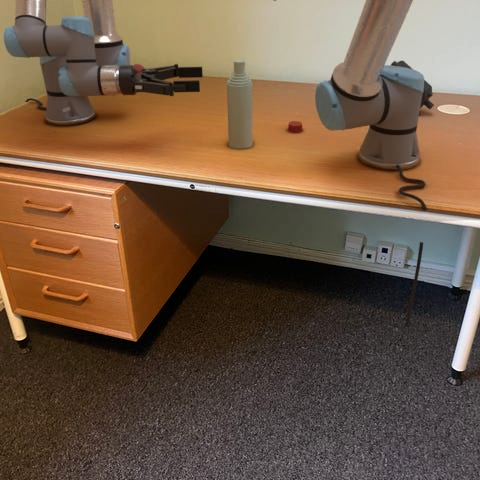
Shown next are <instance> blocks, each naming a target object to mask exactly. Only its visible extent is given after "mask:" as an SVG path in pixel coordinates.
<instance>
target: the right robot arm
mask: <svg viewBox="0 0 480 480" xmlns="http://www.w3.org/2000/svg"><path fill="white" fill-rule="evenodd" d="M273 1H277V0H273ZM413 2H414V0H365V2H364V5H363V7H362V10H361V12H360V15H359V19H358V22H357V24H356V27H355V30H354V32H353V34H352V38H351V40H350V43H349V47H348V48H347V52H346V54H345V57H344V60H343V61H342V62H340V63H339V64H337V65H336V66H335V67H334V68H333V71H332V74H331V77H330V79H329V80H325V79H324V80H323V81H320V82H318V84H317V86H316V88H315V95H314V100H315V101H314V102H315V109H316V112H317V115H318V118H319V121H320V122H321V125H323V127H324V128H325V129H327V130H329V131H332V132H334V131H345V130H352V129H356V128H357V129H358V128H363V127H367V126H368V130H367V132H366V135H364V136H365V137H364V138H363V141H362V143H361V145H360V147H359V151H358V159H359V160H360V162H362V163H363V164H364V165H367V166H369V167H372V168H374V169H378V170H385V171H398V173H399V176H400V178H401V179H402V180H404V181H405V182H410V183H419V184H412V185H411V184H410V185H404V186H401V187H399V189H398V193H399V195H401V196H403V197H408V198H411V199H413V200H415V201H416V202H418V203H419V204H420V205H421V207H422V210H423V211H425V212H426V211H428V207H427V206H426V203H425V202H424V200H423V199H422V198H421V197H419V196H417V195H415V194H412V193H408V192H406V191H405V190H412V189H420V188H424V187H425V186H426V182H425V181H424V180H423V179H418V178H410V177H406V176H405V175H404V172H403V170H408V169H412V168H414V167H416V166H418V164H419V163H420V158H421V153H420V151H421V150H420V146H419V140H418V135H417V130H418V124H419V119H420V117H419V116H420V111H421V109H420V106H421V101H422V95H423V93H424V90H423V88H424V80H425V77H424V74H423V73H421V72H420V71H418V70H416V69H413V68H412V69H409V68H405V67H399V66H390V65H391V64H390V65H389V64H386V63H387V61H388V58H389V57H390V53H391V52H392V49H393V47H394V44H395V42H396V40H397V38H398V36H399V33H400V31H401V28H402V27H403V25H404V22H405V20H406V18H407V15H408V13H409V11H410V8H411V6H412V5H413ZM423 248H424V242H422V241H419V246H418V253H417V254H418V255H417V260H416V265H415V273H414V278H413V283H412V287H411V291H410V292H411V293H410V298H409V301H408V307H407V312H406V318H405V323H404V327H405V328H408V327H409V324H410V319H411V313H412V308H413V303H414V299H415V293H416V288H417V284H418V280H419V274H420V270H421V269H420V268H421V262H422V257H423V250H424V249H423Z"/></svg>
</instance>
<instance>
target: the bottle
mask: <svg viewBox="0 0 480 480" xmlns="http://www.w3.org/2000/svg"><path fill="white" fill-rule="evenodd" d="M253 90H254V89H253V81H252V79H251V77H250V76H249V74H248V73H247V72H246V61H245V59H235V60H233V72H232V74H231V75H230V77H229V79H228V80H227V81H226V96H227V97H226V100H227V101H226V102H227V129H228V130H227V131H228V132H227V133H228V146H229V147H230V148H232V149H236V150H244V149H249V148H251V147H253V146H254V122H253V121H254V119H253V118H254V116H253V115H254V114H253V113H254V111H253V109H254V108H253V107H254V103H253V102H254V98H253Z"/></svg>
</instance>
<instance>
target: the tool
mask: <svg viewBox="0 0 480 480" xmlns="http://www.w3.org/2000/svg"><path fill="white" fill-rule="evenodd" d="M390 66H399V67H405V68H409V69H413V68H412V67H411V66H410V65H409V64H408V63H406V61H404V60H399V61H395V60H394V61H392V62H391V63H390ZM423 90H424V93H423V95H422V101H421V106H420V110H421V109H422V108H423V107H426V108H427V109H428V110H430V111H431V109H433V107H434V106H435V104H434V103H433V102H432V101H431V100H430V98H432V97H433V95H434V94H433V85H431V84H430V83H429V82H428V81H427V80H425V79H424V88H423Z"/></svg>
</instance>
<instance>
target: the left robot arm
mask: <svg viewBox="0 0 480 480" xmlns="http://www.w3.org/2000/svg"><path fill="white" fill-rule="evenodd" d="M81 3H82V11H83V16H81V15H80V16H77V15H76V16H75V15H73V16H63V17H62V18H61V23H60V24H53V25H47V0H15V4H14V5H15V8H14V10H15V12H14V25H11V26H7V27H5V29H4V31H3V43H4V46H5V49H6V51H7V53H8V54H9V55H10V56H11V57H14V58H27V59H30V58H39V66H40V69H41V73H42V77H43V78H42V79H43V83H44V86H45V91H46V107H45V106H42V101H40V100H38V99H36V98H31V97H30V98H27V99H26V100H25V103H28V102H31V101H33V102H36V103H38V104H37V108H38V109H39V110H45V120H46V123H48V124H49V125H53V126H57V127H67V126H68V127H69V126H77V125H82V124H85V123H88V122H91V121H92V120H94V118H95V117H96V110H95V107H94V105H92V103H91V101H90V99H89V97H101V96H109V97H110V98H114V96H120V95H122V96H135V95H137V93H146V94H154V95H160V96H161V95H162V96H167V97H168V96H169V97H174V96H175V93H200V92H201V87H200V86H201V83H200V80H199V79H198V78H203V75H204V73H203V66H179V64H178V63H175V64H172V65H167V66H158V67H153V68H152V67H151V68H145V69H142V72H141V73H137V72H136V69H135V67H134V66H133V65H134V64H131V51H130V46H129V45H128V44H126V43H124V42H123V37H122V36H121V35H120V34H119V33H118V32H117V27H116V18H115V10H114V3H113V0H81ZM174 78H179V79H189V78H191V79H193V78H194V79H195V78H197V79H198V80H173V81H167V80H169V79H174Z"/></svg>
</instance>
